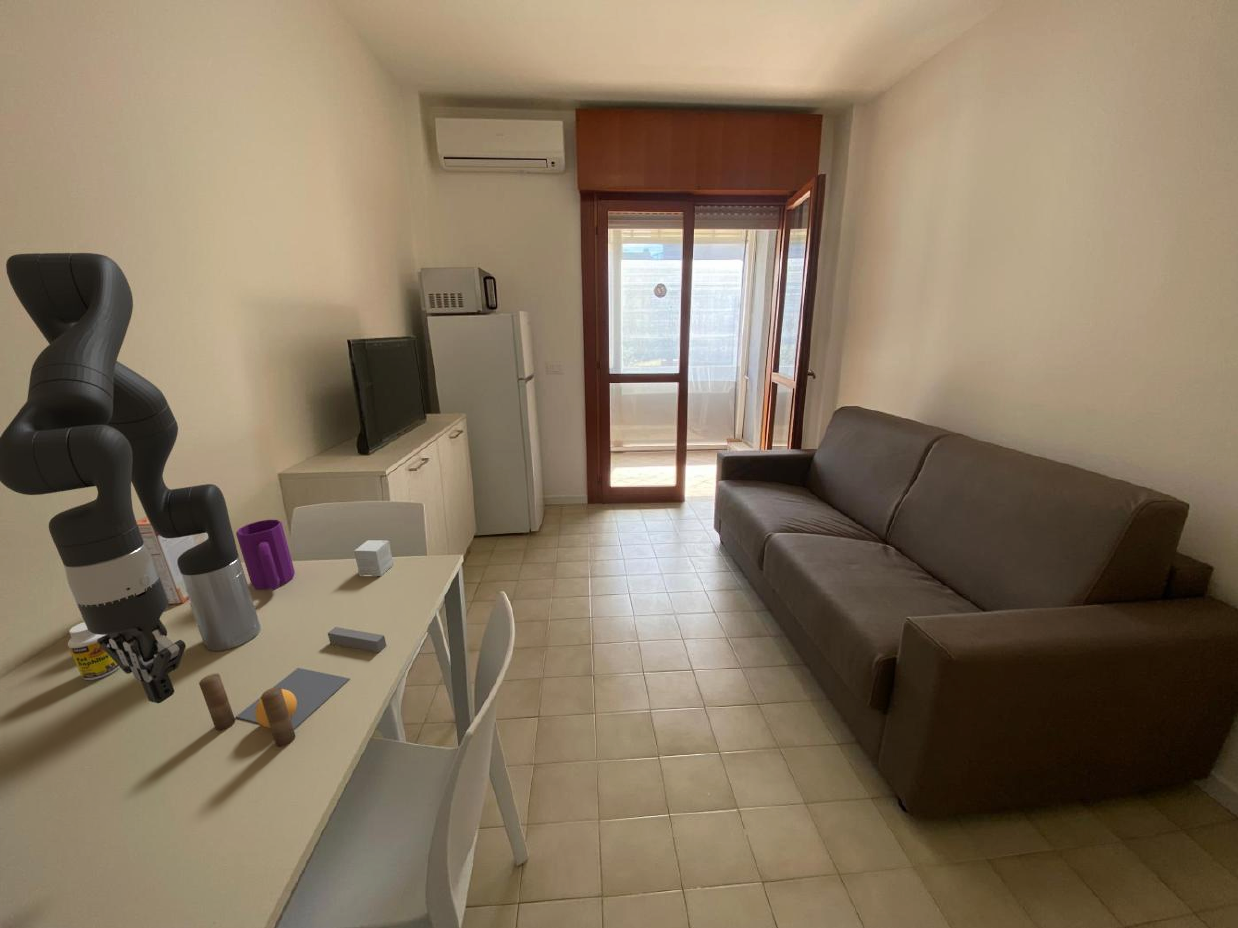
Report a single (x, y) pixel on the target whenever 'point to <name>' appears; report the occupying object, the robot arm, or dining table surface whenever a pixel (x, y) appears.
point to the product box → (374, 557)
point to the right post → (278, 716)
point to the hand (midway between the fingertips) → (162, 697)
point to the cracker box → (169, 558)
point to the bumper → (357, 639)
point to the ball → (290, 704)
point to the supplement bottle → (90, 654)
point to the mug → (266, 554)
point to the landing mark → (303, 693)
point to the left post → (217, 702)
